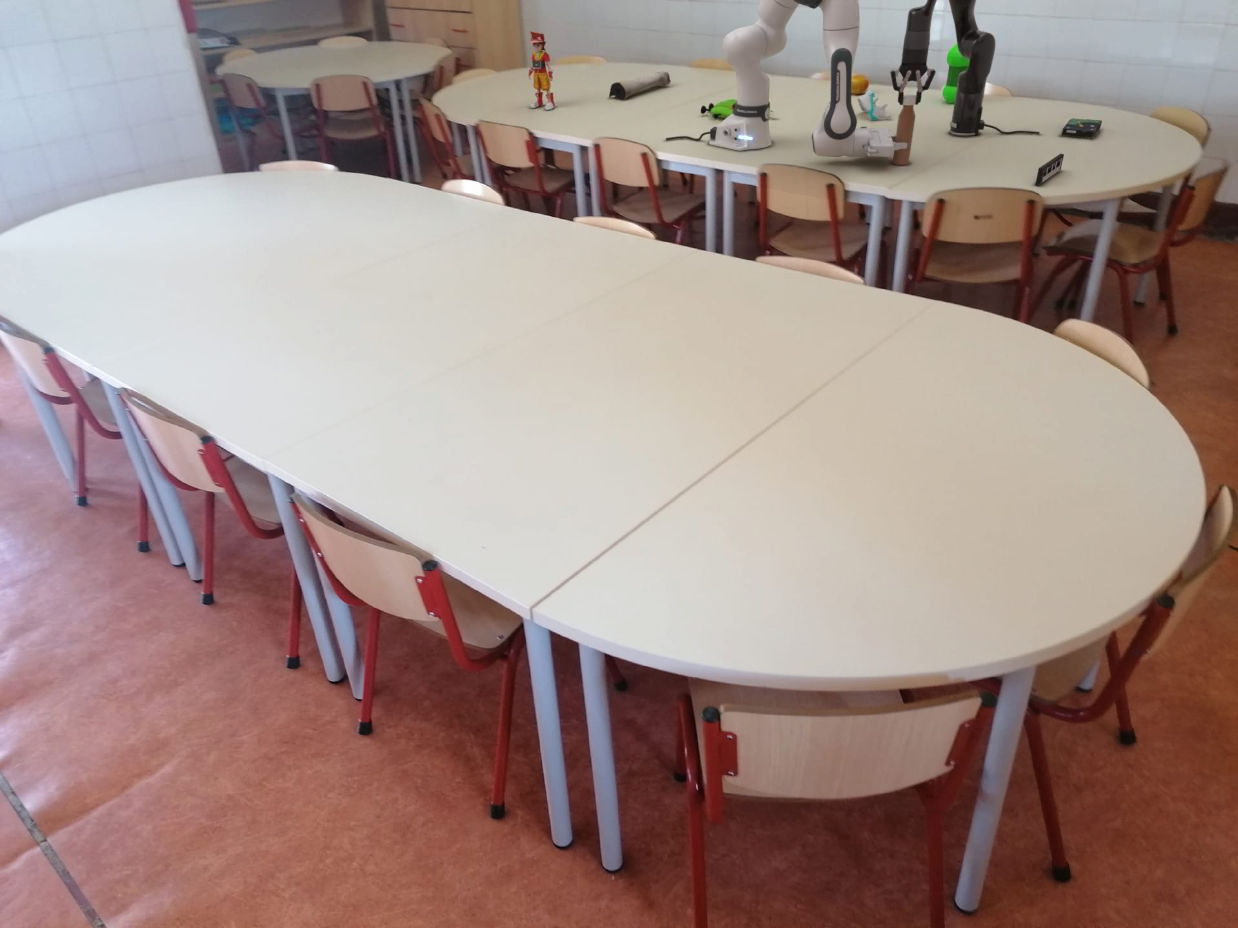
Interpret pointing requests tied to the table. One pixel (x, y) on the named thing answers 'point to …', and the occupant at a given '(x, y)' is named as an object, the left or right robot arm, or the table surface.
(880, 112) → the anatomical model
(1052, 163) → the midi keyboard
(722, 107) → the toy
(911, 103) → the cap
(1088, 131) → the disk drive
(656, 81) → the rolled mat
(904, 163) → the bottle
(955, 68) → the green dumbbell
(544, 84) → the toy
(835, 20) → the left robot arm
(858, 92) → the fruit
